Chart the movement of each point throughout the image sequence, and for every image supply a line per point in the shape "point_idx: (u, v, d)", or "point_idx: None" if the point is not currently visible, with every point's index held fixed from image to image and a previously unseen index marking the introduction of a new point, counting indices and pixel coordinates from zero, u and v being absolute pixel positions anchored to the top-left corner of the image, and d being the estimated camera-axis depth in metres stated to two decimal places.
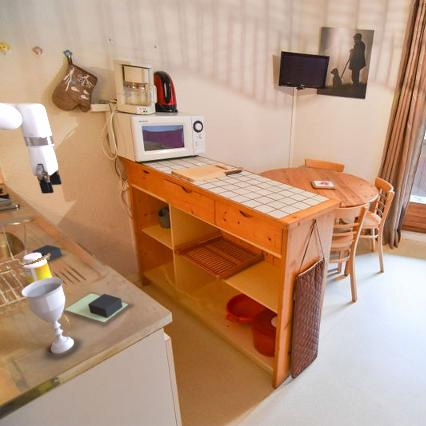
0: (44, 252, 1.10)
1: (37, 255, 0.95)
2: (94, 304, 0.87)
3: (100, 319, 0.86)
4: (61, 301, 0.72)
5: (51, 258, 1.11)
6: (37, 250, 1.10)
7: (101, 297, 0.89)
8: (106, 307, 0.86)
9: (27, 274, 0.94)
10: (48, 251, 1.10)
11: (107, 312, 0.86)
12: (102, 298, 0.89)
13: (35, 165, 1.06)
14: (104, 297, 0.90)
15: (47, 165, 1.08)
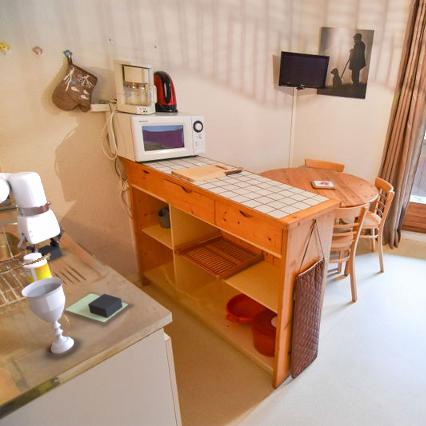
0: (44, 252, 1.10)
1: (37, 255, 0.95)
2: (94, 304, 0.87)
3: (100, 319, 0.86)
4: (61, 301, 0.72)
5: (51, 258, 1.11)
6: None
7: (101, 297, 0.89)
8: (106, 307, 0.86)
9: (27, 274, 0.94)
10: (48, 251, 1.10)
11: (107, 312, 0.86)
12: (102, 298, 0.89)
13: (20, 233, 1.04)
14: (104, 297, 0.90)
15: (28, 235, 1.04)
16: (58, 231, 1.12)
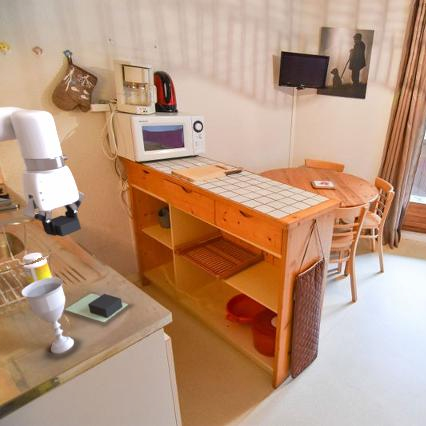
0: (58, 223, 0.82)
1: (37, 255, 0.95)
2: (94, 304, 0.87)
3: (100, 319, 0.86)
4: (61, 301, 0.72)
5: (68, 232, 0.83)
6: None
7: (101, 297, 0.89)
8: (106, 307, 0.86)
9: (27, 274, 0.94)
10: (64, 222, 0.82)
11: (107, 312, 0.86)
12: (102, 298, 0.89)
13: (27, 196, 0.76)
14: (104, 297, 0.90)
15: (38, 198, 0.76)
16: (76, 196, 0.84)
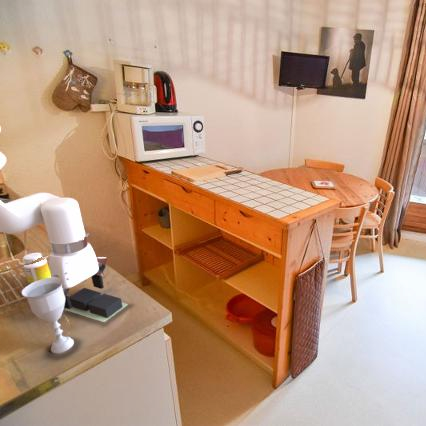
0: (82, 299, 0.88)
1: (37, 255, 0.95)
2: (94, 304, 0.87)
3: (100, 319, 0.86)
4: (61, 301, 0.72)
5: None
6: (73, 296, 0.89)
7: (101, 297, 0.89)
8: (106, 307, 0.86)
9: (27, 274, 0.94)
10: (87, 298, 0.89)
11: (107, 312, 0.86)
12: (102, 298, 0.89)
13: (53, 275, 0.82)
14: (104, 297, 0.90)
15: (63, 278, 0.82)
16: (97, 269, 0.91)
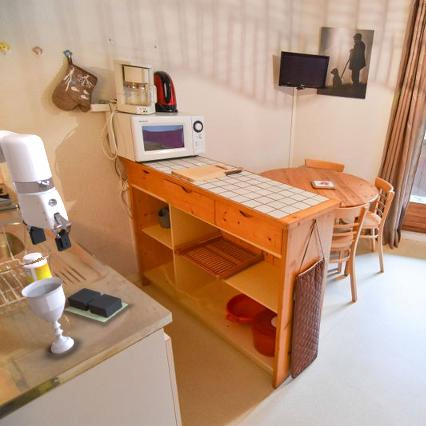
0: (82, 299, 0.88)
1: (37, 255, 0.95)
2: (94, 304, 0.87)
3: (100, 319, 0.86)
4: (61, 301, 0.72)
5: None
6: (73, 296, 0.89)
7: (101, 297, 0.89)
8: (106, 307, 0.86)
9: (27, 274, 0.94)
10: (87, 298, 0.89)
11: (107, 312, 0.86)
12: (102, 298, 0.89)
13: None
14: (104, 297, 0.90)
15: None
16: (48, 226, 0.80)
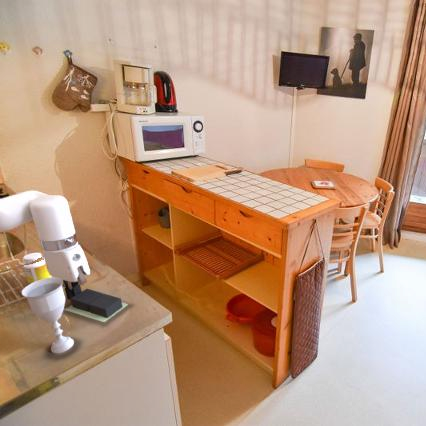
0: (85, 300, 0.88)
1: (37, 255, 0.95)
2: (94, 304, 0.87)
3: (100, 319, 0.86)
4: (61, 301, 0.72)
5: None
6: (76, 297, 0.89)
7: (101, 297, 0.89)
8: (106, 307, 0.86)
9: (27, 274, 0.94)
10: (90, 298, 0.89)
11: (107, 312, 0.86)
12: (102, 298, 0.89)
13: None
14: (104, 297, 0.90)
15: None
16: (72, 279, 0.85)
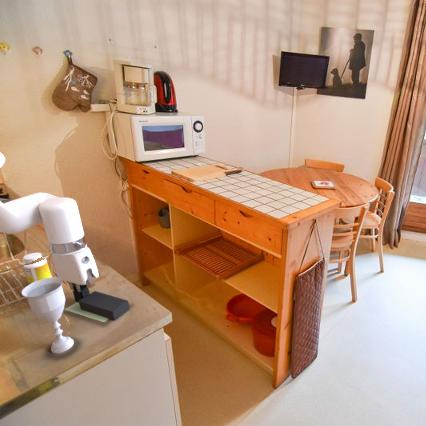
0: (93, 303, 0.87)
1: (37, 255, 0.95)
2: (102, 306, 0.86)
3: (100, 319, 0.86)
4: (61, 301, 0.72)
5: None
6: (84, 300, 0.88)
7: (108, 300, 0.89)
8: (113, 309, 0.85)
9: (27, 274, 0.94)
10: (98, 301, 0.88)
11: (114, 314, 0.85)
12: (109, 300, 0.89)
13: None
14: (111, 299, 0.89)
15: None
16: (81, 282, 0.85)
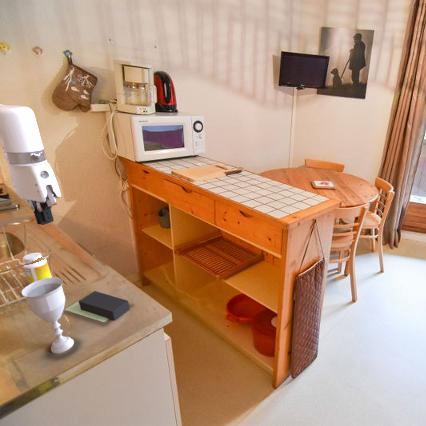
0: (93, 303, 0.87)
1: (37, 255, 0.95)
2: (102, 306, 0.86)
3: (100, 319, 0.86)
4: (61, 301, 0.72)
5: None
6: (84, 300, 0.88)
7: (108, 300, 0.89)
8: (113, 309, 0.85)
9: (27, 274, 0.94)
10: (98, 301, 0.88)
11: (114, 314, 0.85)
12: (109, 300, 0.89)
13: None
14: (111, 299, 0.89)
15: None
16: (40, 198, 0.81)
